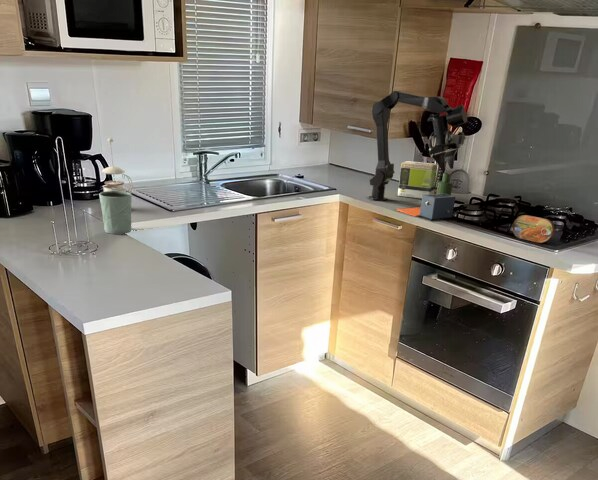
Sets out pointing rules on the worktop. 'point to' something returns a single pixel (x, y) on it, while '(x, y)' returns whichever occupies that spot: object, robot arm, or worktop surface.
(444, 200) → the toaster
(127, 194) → the green cup
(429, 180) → the tea box
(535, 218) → the tin
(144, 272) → the worktop surface
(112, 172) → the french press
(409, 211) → the mat
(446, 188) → the bottle
